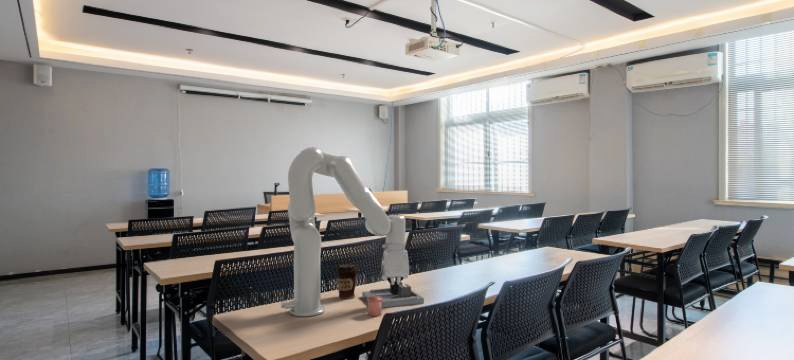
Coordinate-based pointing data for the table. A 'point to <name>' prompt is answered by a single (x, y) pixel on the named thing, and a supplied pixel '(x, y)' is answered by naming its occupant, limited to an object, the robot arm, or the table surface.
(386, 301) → the breaker panel
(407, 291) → the toggle
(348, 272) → the coffee cup
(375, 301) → the cap
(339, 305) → the table surface
